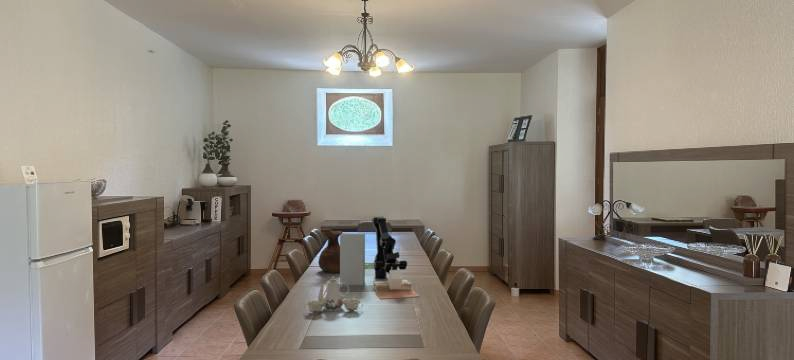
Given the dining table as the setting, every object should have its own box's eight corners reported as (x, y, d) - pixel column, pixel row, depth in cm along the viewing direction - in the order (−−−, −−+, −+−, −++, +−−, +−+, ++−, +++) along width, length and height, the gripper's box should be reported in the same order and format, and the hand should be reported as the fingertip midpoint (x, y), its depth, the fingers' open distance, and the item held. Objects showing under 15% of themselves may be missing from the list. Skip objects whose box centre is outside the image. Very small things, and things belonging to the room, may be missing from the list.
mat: (375, 293, 282) (375, 292, 282) (413, 291, 287) (413, 290, 287) (380, 299, 270) (380, 298, 270) (419, 296, 275) (419, 296, 275)
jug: (314, 269, 346) (314, 225, 345) (343, 266, 355) (344, 224, 354) (323, 275, 326) (323, 229, 325) (354, 273, 335) (354, 228, 334)
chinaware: (305, 320, 237) (306, 286, 235) (302, 307, 253) (303, 275, 251) (364, 316, 245) (365, 283, 242) (357, 303, 261) (358, 272, 258)
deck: (373, 288, 294) (373, 281, 293) (406, 286, 298) (406, 279, 298) (376, 292, 283) (377, 285, 283) (411, 290, 288) (411, 283, 288)
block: (387, 280, 287) (389, 270, 283) (398, 279, 289) (400, 269, 284) (390, 289, 282) (392, 279, 277) (400, 288, 283) (402, 278, 279)
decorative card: (401, 253, 370) (403, 258, 350) (401, 263, 370) (403, 269, 350) (357, 253, 368) (356, 258, 348) (357, 264, 368) (356, 269, 348)
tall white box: (364, 282, 307) (365, 233, 306) (363, 285, 301) (363, 235, 300) (341, 282, 308) (341, 233, 307) (339, 284, 302) (340, 234, 302)
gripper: (375, 247, 290) (379, 270, 280) (406, 246, 295) (411, 269, 284) (372, 259, 298) (376, 281, 288) (403, 257, 303) (407, 280, 292)
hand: (393, 277), depth 288 cm, fingers closed
